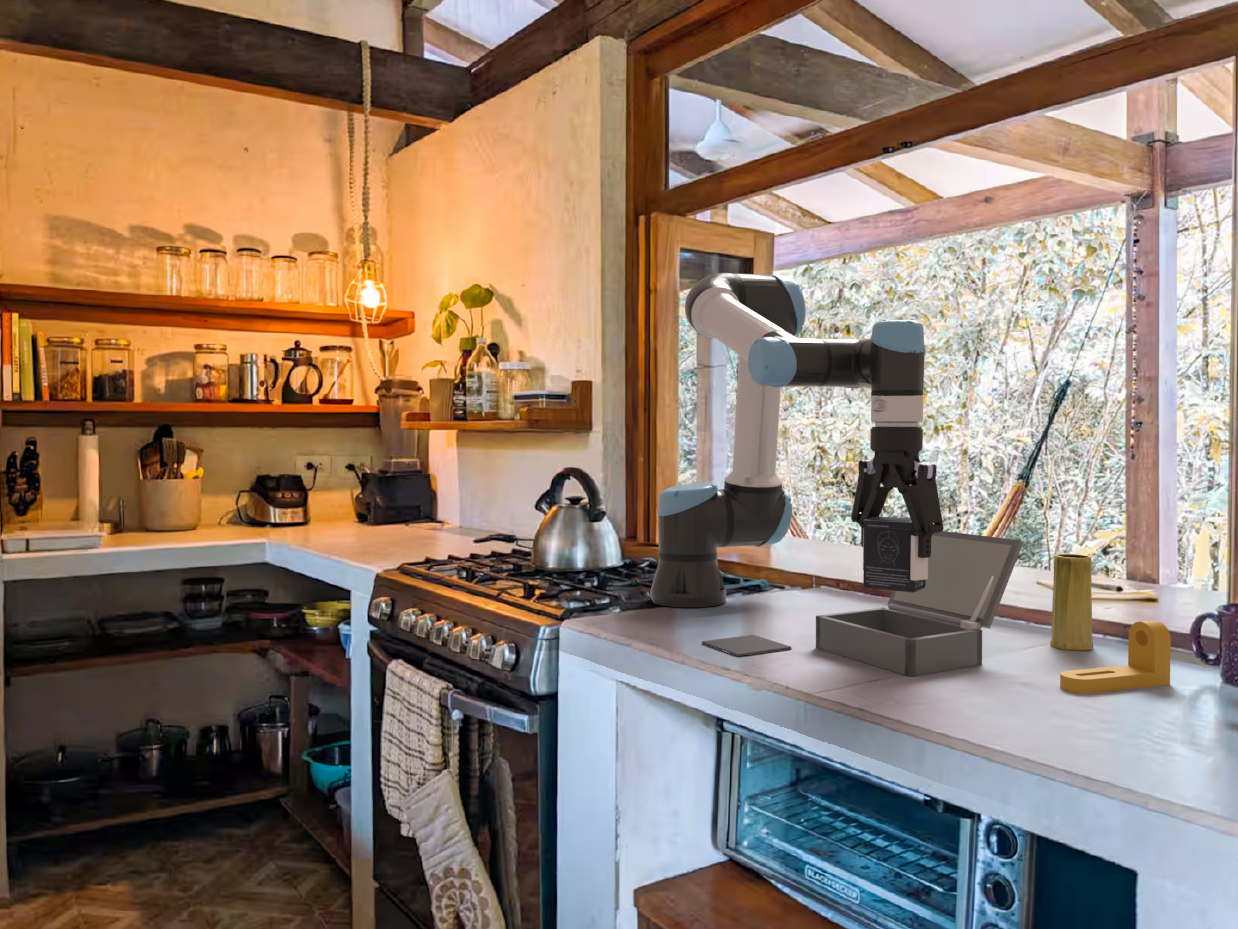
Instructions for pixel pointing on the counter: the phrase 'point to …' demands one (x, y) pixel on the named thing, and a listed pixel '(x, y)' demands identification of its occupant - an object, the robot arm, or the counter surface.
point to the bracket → (1129, 664)
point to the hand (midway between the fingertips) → (894, 574)
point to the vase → (1072, 603)
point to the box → (889, 555)
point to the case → (930, 610)
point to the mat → (746, 645)
